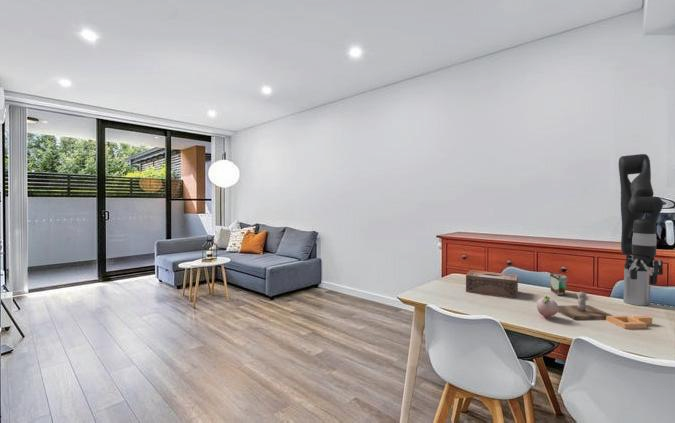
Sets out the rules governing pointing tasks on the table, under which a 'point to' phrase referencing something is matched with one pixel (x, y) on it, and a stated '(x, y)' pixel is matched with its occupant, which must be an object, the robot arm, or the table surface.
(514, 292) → the tissue box cover
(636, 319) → the link
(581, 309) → the keeper
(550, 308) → the decorative fruit
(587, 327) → the table surface
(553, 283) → the food container
